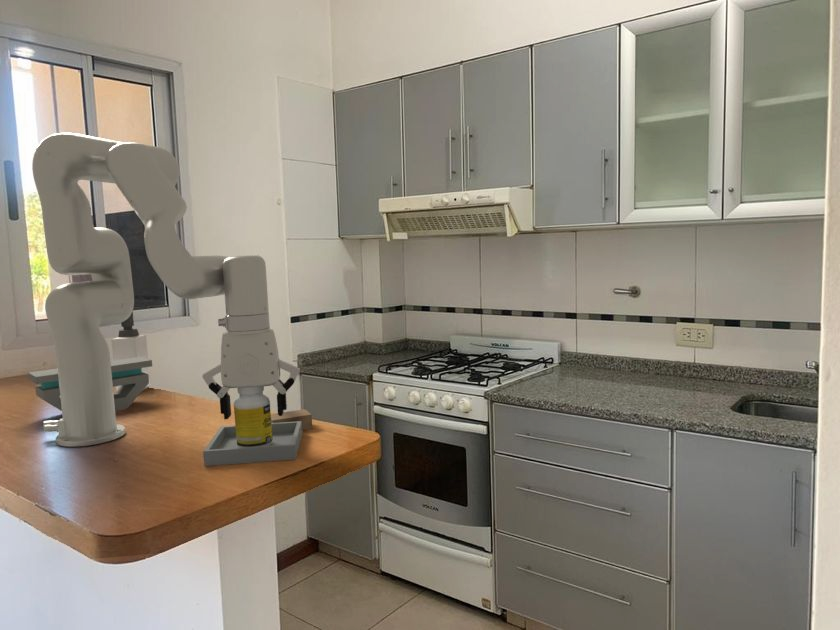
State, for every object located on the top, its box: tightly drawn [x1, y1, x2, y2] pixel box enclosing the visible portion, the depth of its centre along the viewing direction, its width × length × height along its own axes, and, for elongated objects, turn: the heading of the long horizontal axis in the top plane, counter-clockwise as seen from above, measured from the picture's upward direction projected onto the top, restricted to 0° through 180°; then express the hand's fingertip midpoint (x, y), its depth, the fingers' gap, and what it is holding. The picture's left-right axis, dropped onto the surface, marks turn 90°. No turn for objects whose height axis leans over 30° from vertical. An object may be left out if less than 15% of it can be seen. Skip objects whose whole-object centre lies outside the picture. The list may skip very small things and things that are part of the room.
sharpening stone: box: [27, 357, 153, 412], centre depth 153 cm, size 25×8×11 cm, turn 132°
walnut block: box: [271, 408, 313, 431], centre depth 132 cm, size 8×5×3 cm, turn 116°
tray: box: [202, 421, 303, 467], centre depth 120 cm, size 16×16×3 cm
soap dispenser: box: [110, 310, 151, 392], centre depth 174 cm, size 6×9×22 cm
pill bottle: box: [233, 386, 272, 448], centre depth 119 cm, size 6×6×12 cm
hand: (254, 415), depth 119 cm, fingers open, 9 cm apart
